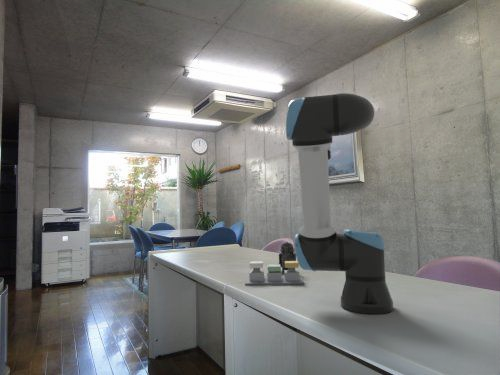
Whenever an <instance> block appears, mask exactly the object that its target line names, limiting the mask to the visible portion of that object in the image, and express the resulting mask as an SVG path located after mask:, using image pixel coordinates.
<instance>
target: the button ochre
mask: <svg viewBox="0 0 500 375" xmlns="http://www.w3.org/2000/svg"><path fill="white" fill-rule="evenodd" d="M299 267H300V266H299V264H298V261H297V260H296V261H285V268H288V272H295V270H296V269H298V268H299Z"/></svg>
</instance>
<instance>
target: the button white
mask: <svg viewBox="0 0 500 375" xmlns="http://www.w3.org/2000/svg"><path fill="white" fill-rule="evenodd" d="M249 268H250V269H252V271H253V273H260V270H261V269H263V268H264V261H262V260H261V261H260V260H259V261H256V260H255V261H253V260H252V261H250V262H249Z"/></svg>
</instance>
